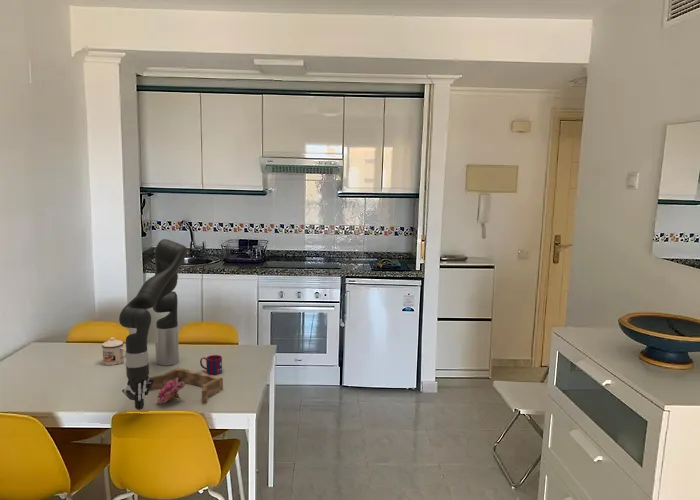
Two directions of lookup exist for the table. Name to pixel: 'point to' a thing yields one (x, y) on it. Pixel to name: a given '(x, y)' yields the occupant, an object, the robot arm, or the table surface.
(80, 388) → the table surface
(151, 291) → the robot arm
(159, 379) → the wooden slat frame
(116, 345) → the teacup with lid
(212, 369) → the cup
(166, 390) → the flower
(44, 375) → the table surface
